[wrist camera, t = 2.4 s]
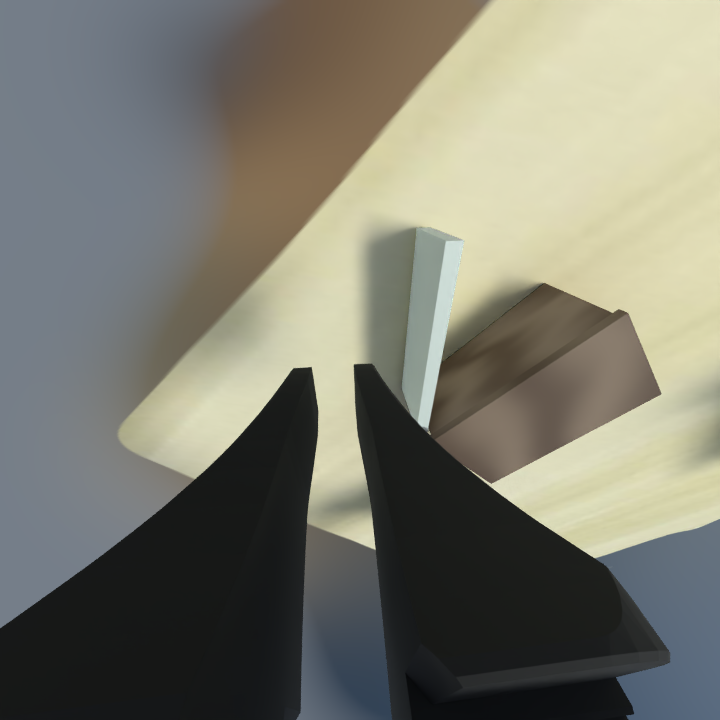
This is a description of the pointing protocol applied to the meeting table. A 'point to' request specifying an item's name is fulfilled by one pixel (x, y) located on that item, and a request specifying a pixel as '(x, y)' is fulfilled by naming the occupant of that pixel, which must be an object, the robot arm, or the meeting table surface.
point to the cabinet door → (428, 317)
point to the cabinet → (538, 382)
